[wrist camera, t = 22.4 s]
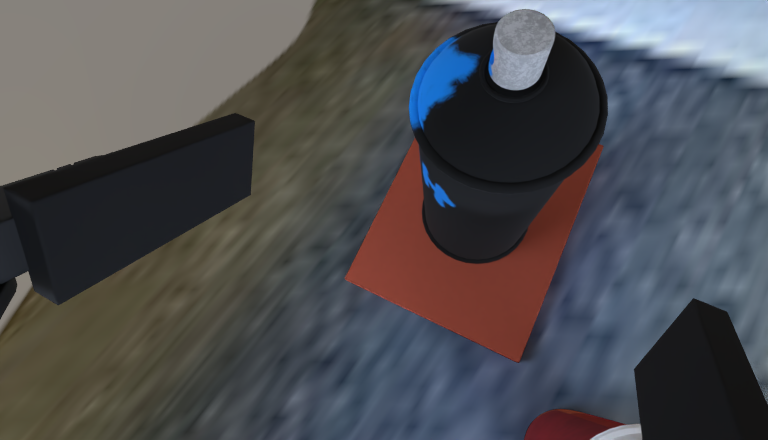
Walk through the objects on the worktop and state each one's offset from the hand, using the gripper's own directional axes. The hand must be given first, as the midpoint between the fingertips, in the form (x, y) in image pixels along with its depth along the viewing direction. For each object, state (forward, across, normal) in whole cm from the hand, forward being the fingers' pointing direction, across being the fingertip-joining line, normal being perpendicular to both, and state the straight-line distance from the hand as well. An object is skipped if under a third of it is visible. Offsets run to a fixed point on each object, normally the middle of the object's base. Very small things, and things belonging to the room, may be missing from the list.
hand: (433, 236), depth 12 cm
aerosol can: (+20, 0, +9) cm, 22 cm away
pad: (+20, 0, +10) cm, 22 cm away
